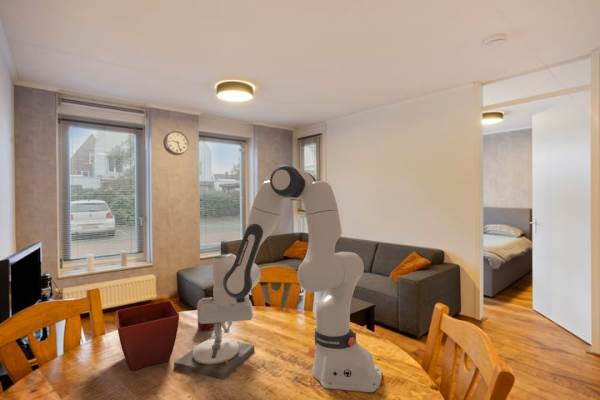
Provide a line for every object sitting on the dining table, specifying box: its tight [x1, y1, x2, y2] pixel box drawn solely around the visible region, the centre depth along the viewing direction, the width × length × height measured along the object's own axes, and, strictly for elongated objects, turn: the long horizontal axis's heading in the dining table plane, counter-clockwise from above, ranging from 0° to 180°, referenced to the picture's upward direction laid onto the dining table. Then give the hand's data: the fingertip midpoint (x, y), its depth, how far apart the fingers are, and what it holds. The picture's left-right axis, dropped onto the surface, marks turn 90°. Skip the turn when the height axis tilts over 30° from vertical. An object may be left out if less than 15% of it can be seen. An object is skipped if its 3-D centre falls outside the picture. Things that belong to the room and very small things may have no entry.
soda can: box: [196, 299, 214, 332], centre depth 138 cm, size 7×7×12 cm
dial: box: [192, 322, 239, 364], centre depth 112 cm, size 16×16×8 cm
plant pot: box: [115, 300, 180, 371], centre depth 113 cm, size 19×19×17 cm
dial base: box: [173, 336, 255, 381], centre depth 112 cm, size 20×20×2 cm
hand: (226, 332), depth 118 cm, fingers closed
